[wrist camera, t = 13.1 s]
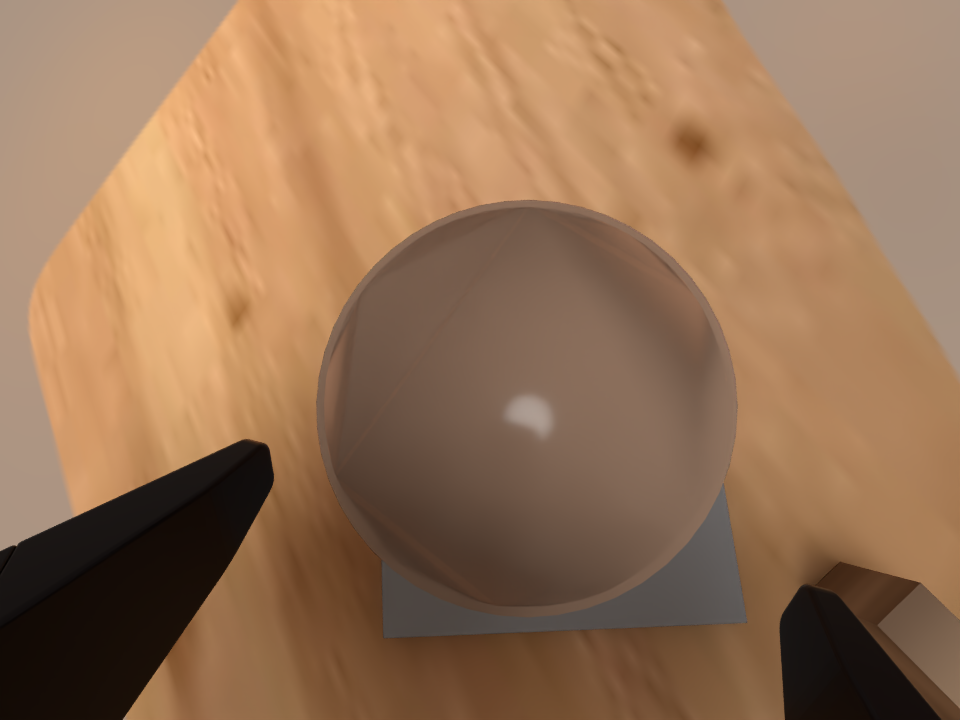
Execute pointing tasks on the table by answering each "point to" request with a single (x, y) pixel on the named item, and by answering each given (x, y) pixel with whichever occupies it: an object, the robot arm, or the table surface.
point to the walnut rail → (907, 630)
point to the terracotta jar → (526, 408)
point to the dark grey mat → (654, 603)
